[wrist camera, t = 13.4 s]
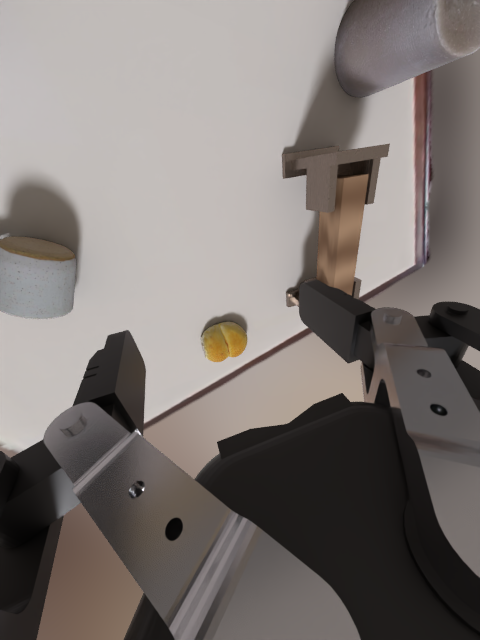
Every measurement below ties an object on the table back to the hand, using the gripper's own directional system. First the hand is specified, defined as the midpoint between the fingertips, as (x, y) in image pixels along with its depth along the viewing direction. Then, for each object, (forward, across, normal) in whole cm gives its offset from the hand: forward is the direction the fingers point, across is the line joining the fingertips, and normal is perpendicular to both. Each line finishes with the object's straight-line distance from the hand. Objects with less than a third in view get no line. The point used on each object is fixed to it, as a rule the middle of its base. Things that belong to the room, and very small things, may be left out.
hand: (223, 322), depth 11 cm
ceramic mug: (+28, +19, +1) cm, 34 cm away
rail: (+22, -22, +6) cm, 32 cm away
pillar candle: (+28, -30, -17) cm, 45 cm away
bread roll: (+29, -3, +22) cm, 36 cm away
